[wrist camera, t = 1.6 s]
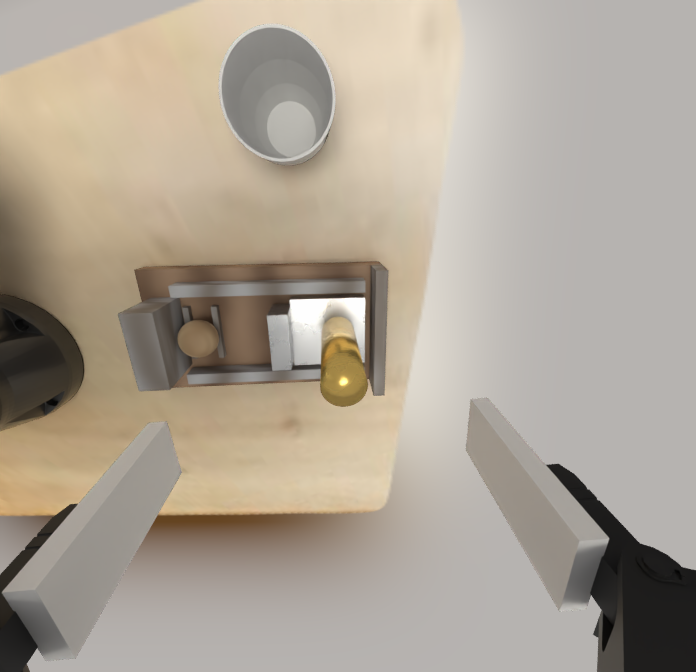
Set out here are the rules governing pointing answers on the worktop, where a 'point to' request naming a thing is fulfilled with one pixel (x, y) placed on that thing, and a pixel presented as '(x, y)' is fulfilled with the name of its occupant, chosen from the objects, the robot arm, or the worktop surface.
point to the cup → (277, 94)
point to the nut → (198, 338)
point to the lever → (323, 342)
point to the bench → (241, 320)
